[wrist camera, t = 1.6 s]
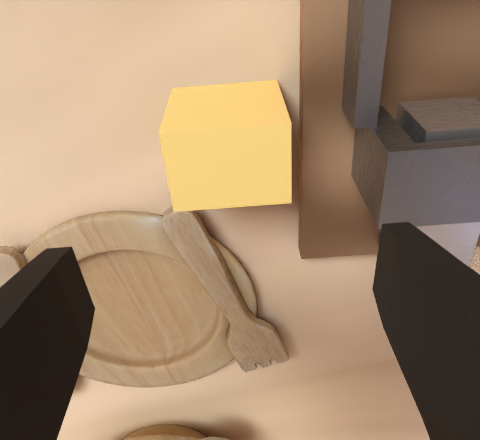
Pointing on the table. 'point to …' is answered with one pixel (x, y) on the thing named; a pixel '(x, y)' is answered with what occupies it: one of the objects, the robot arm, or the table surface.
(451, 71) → the board
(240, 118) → the block
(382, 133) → the block
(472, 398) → the robot arm
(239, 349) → the tableware set
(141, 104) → the table surface
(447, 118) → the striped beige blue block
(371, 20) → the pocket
